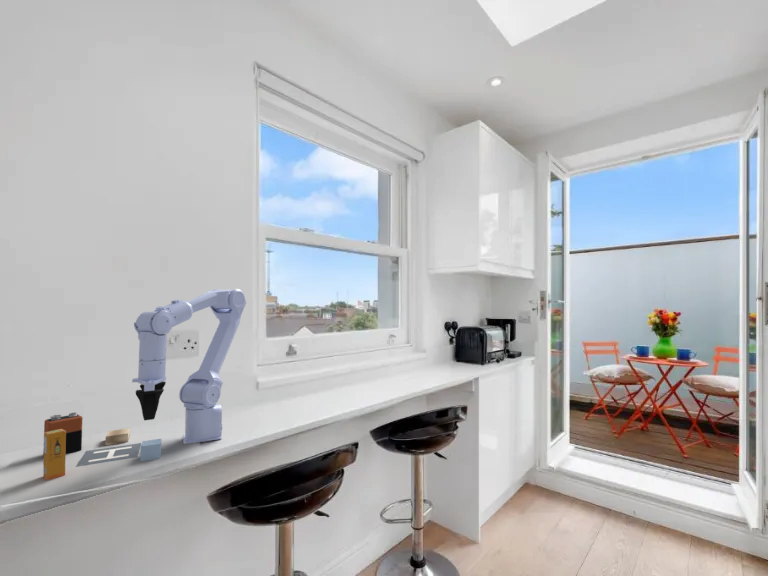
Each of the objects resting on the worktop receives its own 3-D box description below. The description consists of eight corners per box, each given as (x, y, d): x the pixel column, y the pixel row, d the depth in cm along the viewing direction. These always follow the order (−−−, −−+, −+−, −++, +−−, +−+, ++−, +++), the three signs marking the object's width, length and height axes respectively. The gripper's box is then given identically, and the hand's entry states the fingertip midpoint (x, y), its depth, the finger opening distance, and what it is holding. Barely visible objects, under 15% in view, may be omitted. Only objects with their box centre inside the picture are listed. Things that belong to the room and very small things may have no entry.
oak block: (129, 438, 108) (129, 428, 108) (127, 444, 103) (128, 433, 104) (107, 442, 105) (108, 431, 105) (105, 447, 101) (105, 436, 101)
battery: (42, 456, 95) (44, 416, 95) (76, 448, 100) (77, 409, 101) (47, 460, 92) (48, 419, 93) (82, 452, 97) (83, 412, 98)
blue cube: (161, 454, 96) (161, 438, 96) (159, 460, 92) (160, 443, 92) (142, 457, 94) (142, 441, 94) (140, 463, 90) (140, 446, 91)
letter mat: (141, 444, 103) (141, 442, 103) (137, 458, 93) (137, 456, 93) (86, 452, 97) (86, 450, 97) (75, 468, 87) (75, 466, 87)
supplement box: (61, 472, 85) (63, 427, 86) (65, 477, 83) (67, 430, 84) (42, 478, 83) (43, 431, 83) (45, 482, 81) (47, 434, 81)
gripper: (136, 357, 99) (134, 410, 98) (129, 364, 86) (127, 425, 85) (167, 356, 102) (166, 407, 101) (165, 362, 89) (163, 421, 88)
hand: (150, 415), depth 93 cm, fingers open, 7 cm apart
